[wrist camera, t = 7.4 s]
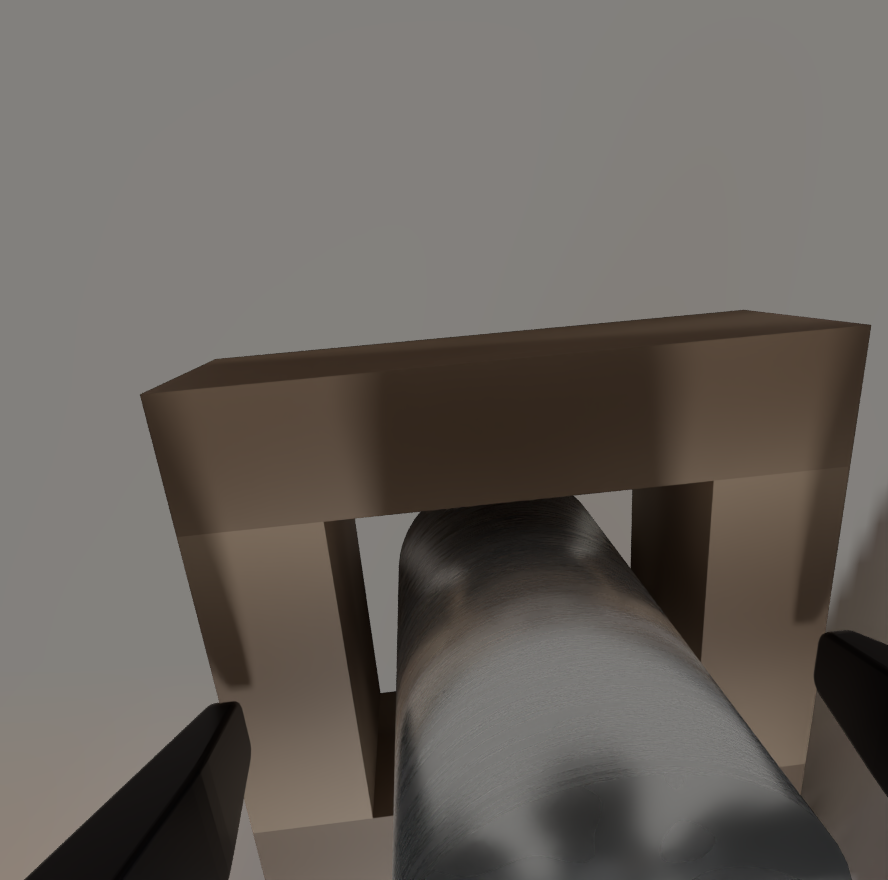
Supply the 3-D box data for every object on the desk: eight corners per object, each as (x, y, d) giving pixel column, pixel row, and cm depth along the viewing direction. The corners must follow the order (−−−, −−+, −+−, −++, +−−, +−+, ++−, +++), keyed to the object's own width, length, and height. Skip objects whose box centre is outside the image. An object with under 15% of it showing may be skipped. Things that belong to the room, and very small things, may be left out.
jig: (710, 724, 13) (793, 847, 11) (303, 774, 13) (273, 915, 10) (743, 309, 10) (871, 324, 8) (215, 359, 10) (139, 394, 7)
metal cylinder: (600, 641, 13) (822, 1063, 6) (409, 662, 12) (415, 1124, 6) (601, 461, 11) (889, 743, 5) (387, 483, 11) (361, 811, 4)
